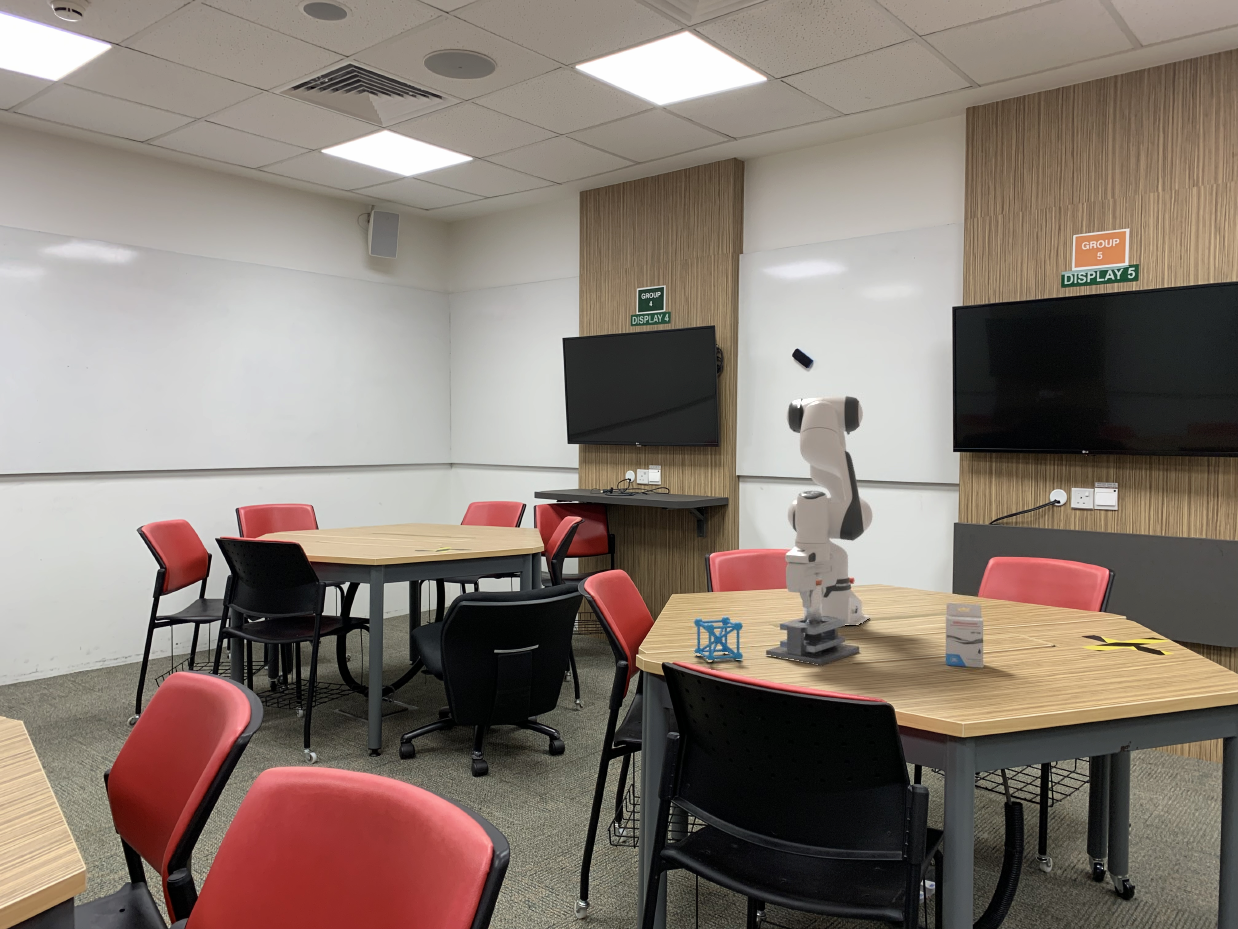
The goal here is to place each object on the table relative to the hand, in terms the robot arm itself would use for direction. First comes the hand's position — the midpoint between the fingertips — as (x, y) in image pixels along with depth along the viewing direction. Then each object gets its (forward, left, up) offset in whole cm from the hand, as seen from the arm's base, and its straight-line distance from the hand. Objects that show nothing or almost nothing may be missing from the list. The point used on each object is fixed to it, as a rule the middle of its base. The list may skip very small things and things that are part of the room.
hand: (812, 606), depth 224 cm
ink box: (-14, +34, -13) cm, 39 cm away
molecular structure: (+20, -16, -13) cm, 29 cm away
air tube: (0, 0, -9) cm, 9 cm away
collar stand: (0, 0, -13) cm, 13 cm away
